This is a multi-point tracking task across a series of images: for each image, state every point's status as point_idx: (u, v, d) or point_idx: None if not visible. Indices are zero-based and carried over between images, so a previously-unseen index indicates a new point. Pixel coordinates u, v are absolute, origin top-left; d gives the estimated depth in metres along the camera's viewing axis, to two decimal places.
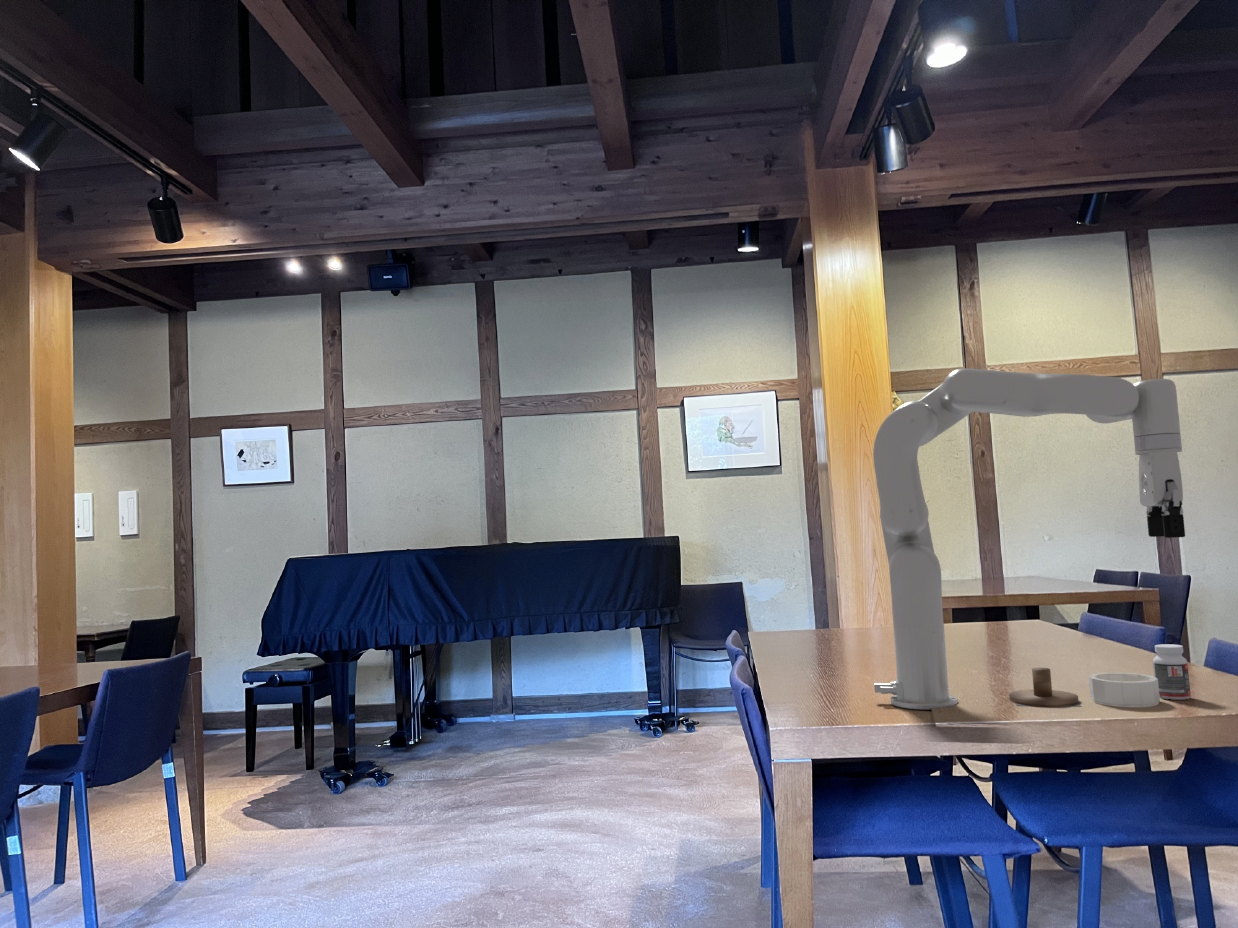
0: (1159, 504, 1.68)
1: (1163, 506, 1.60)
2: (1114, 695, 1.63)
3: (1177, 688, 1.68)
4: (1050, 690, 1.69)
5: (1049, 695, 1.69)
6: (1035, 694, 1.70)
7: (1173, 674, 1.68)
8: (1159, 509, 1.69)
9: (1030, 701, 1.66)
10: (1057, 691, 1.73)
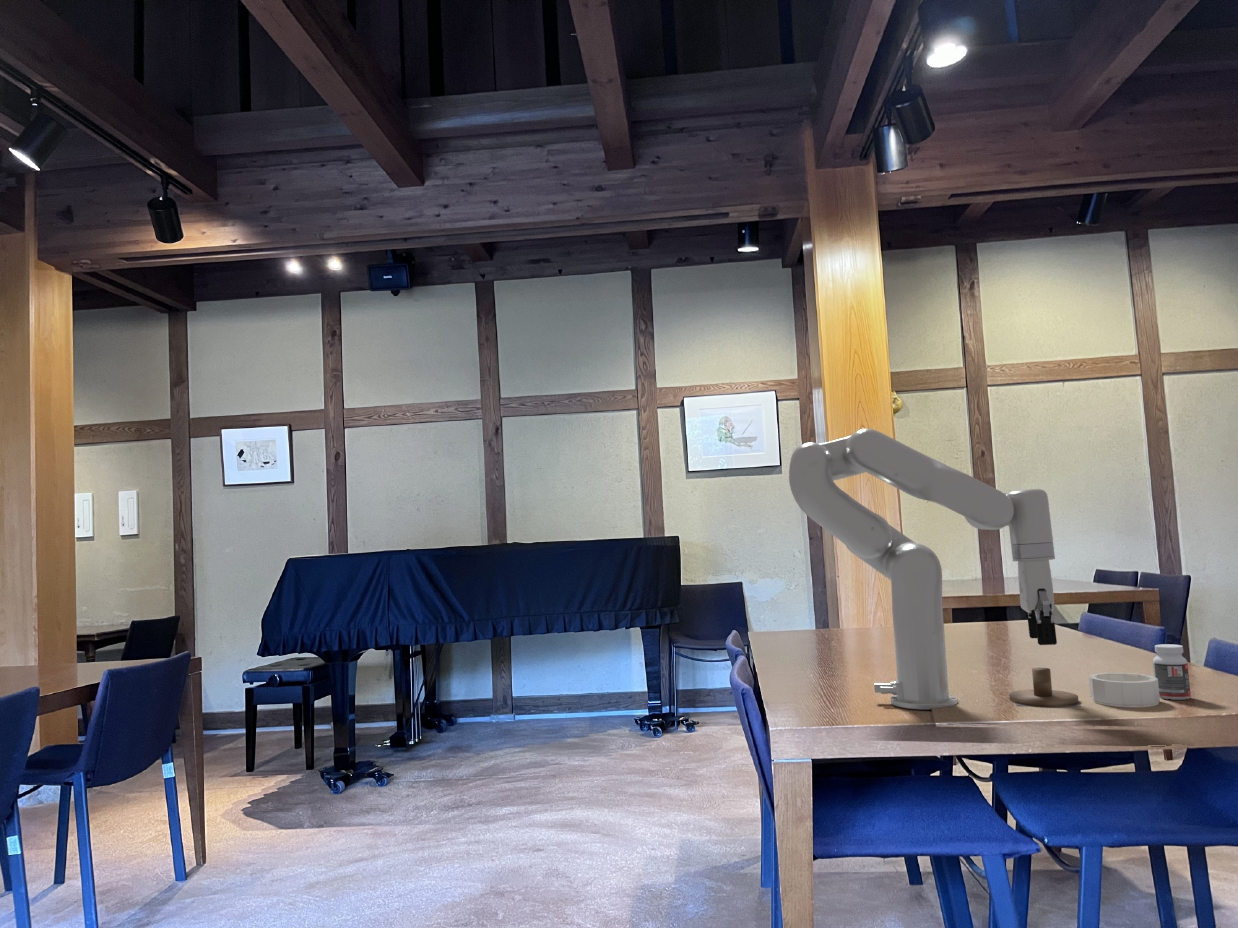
0: None
1: (1036, 614, 1.67)
2: (1114, 695, 1.63)
3: (1177, 688, 1.68)
4: (1050, 690, 1.69)
5: (1049, 695, 1.69)
6: (1035, 694, 1.70)
7: (1173, 674, 1.68)
8: None
9: (1030, 701, 1.66)
10: (1057, 691, 1.73)
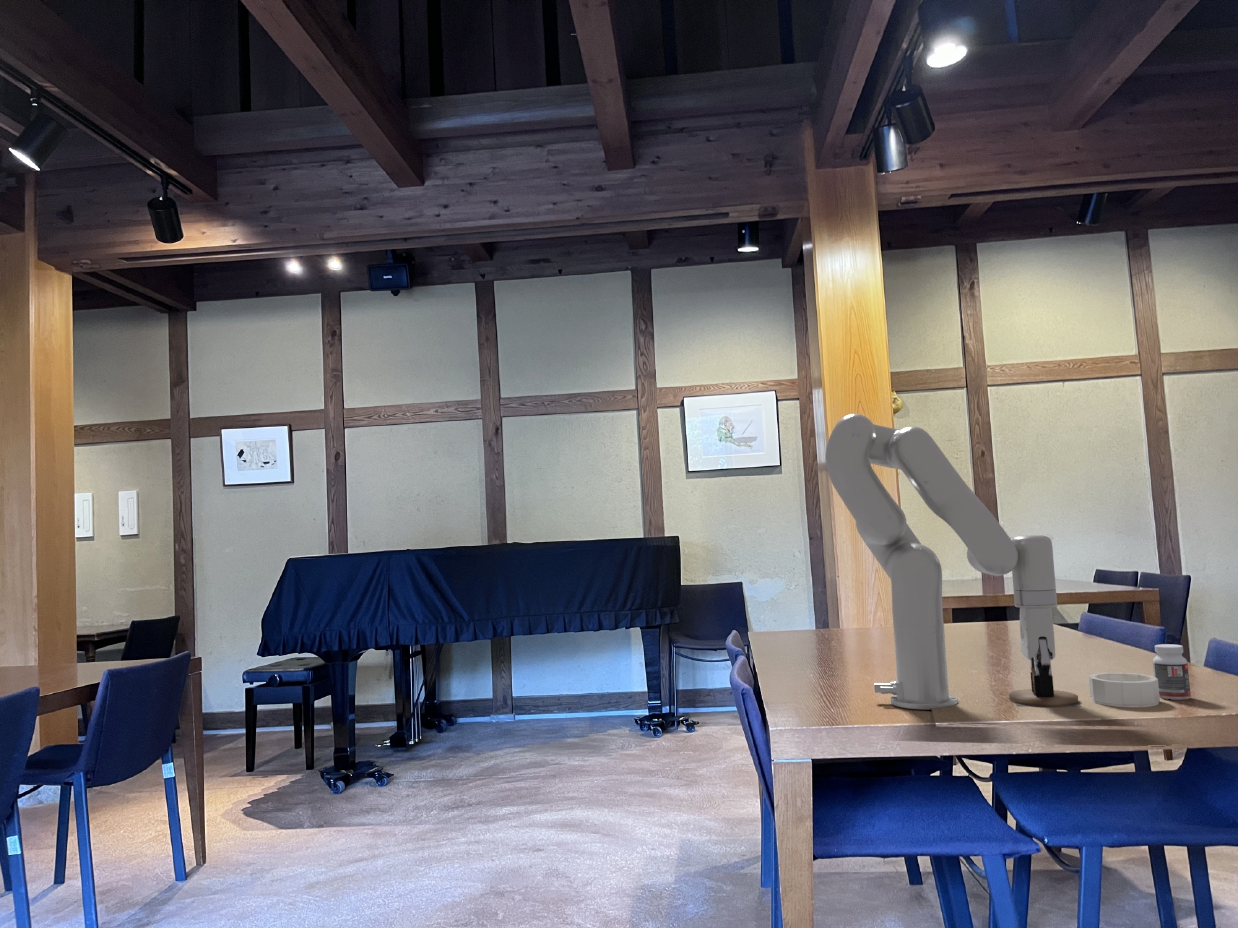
0: (1040, 657, 1.72)
1: (1035, 666, 1.69)
2: (1114, 695, 1.63)
3: (1177, 688, 1.68)
4: None
5: None
6: None
7: (1173, 674, 1.68)
8: None
9: (1030, 701, 1.66)
10: (1057, 691, 1.73)
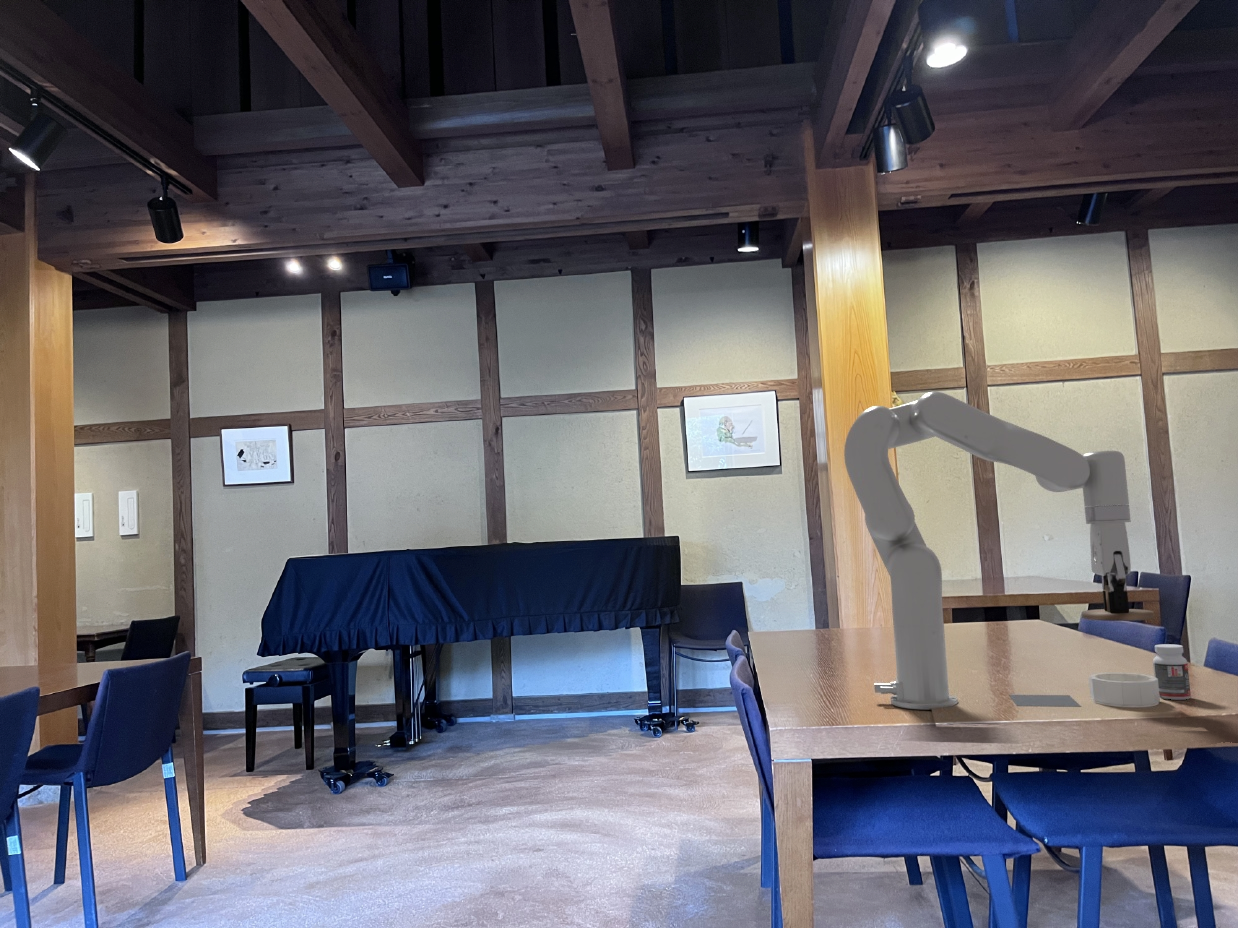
0: (1112, 574, 1.70)
1: (1109, 582, 1.66)
2: (1114, 695, 1.63)
3: (1177, 688, 1.68)
4: None
5: None
6: None
7: (1173, 674, 1.68)
8: None
9: (1105, 617, 1.63)
10: (1130, 609, 1.70)
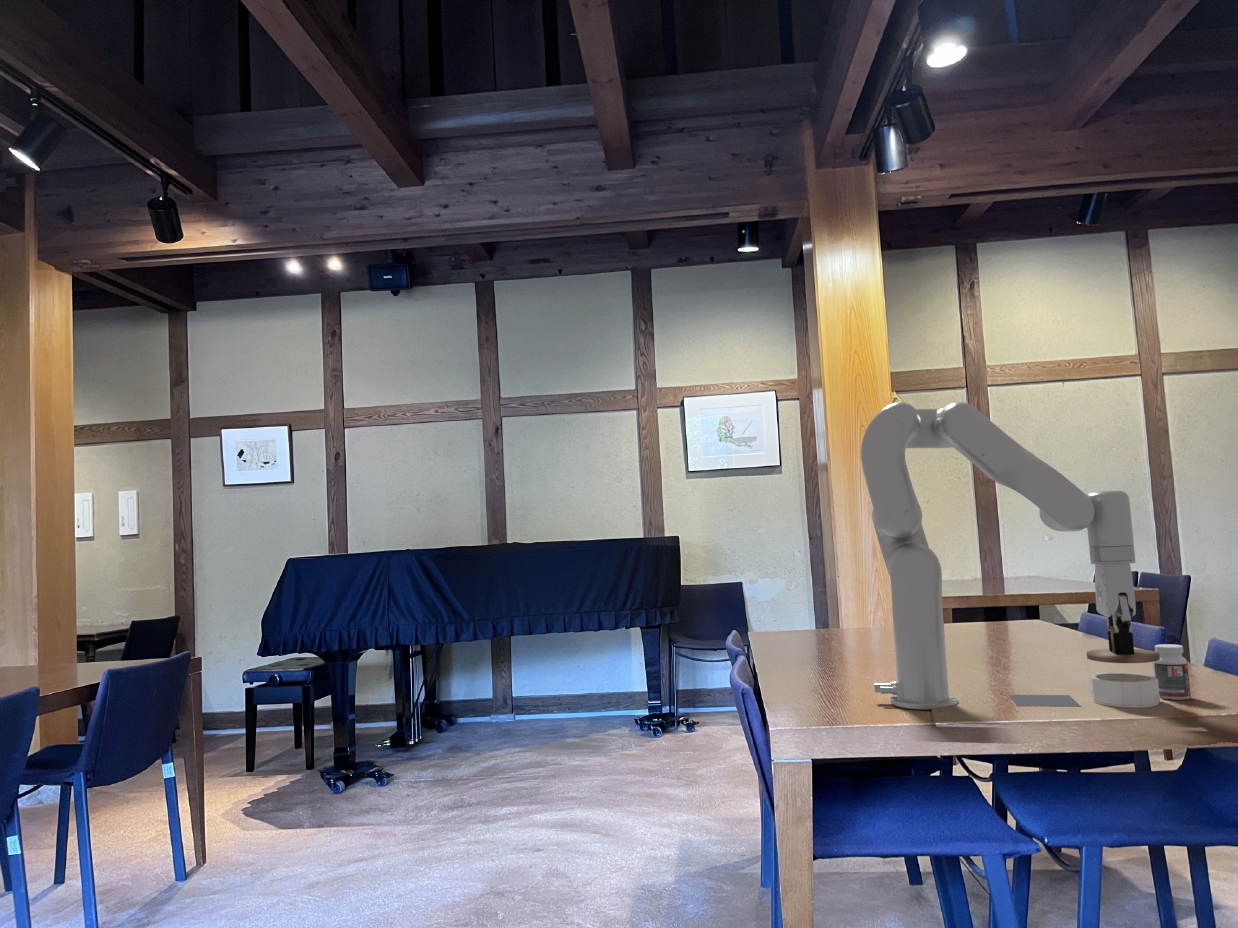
0: (1117, 615, 1.69)
1: (1114, 623, 1.65)
2: (1114, 695, 1.63)
3: (1177, 688, 1.68)
4: None
5: None
6: (1114, 652, 1.67)
7: (1173, 674, 1.68)
8: None
9: (1111, 658, 1.63)
10: (1135, 649, 1.70)
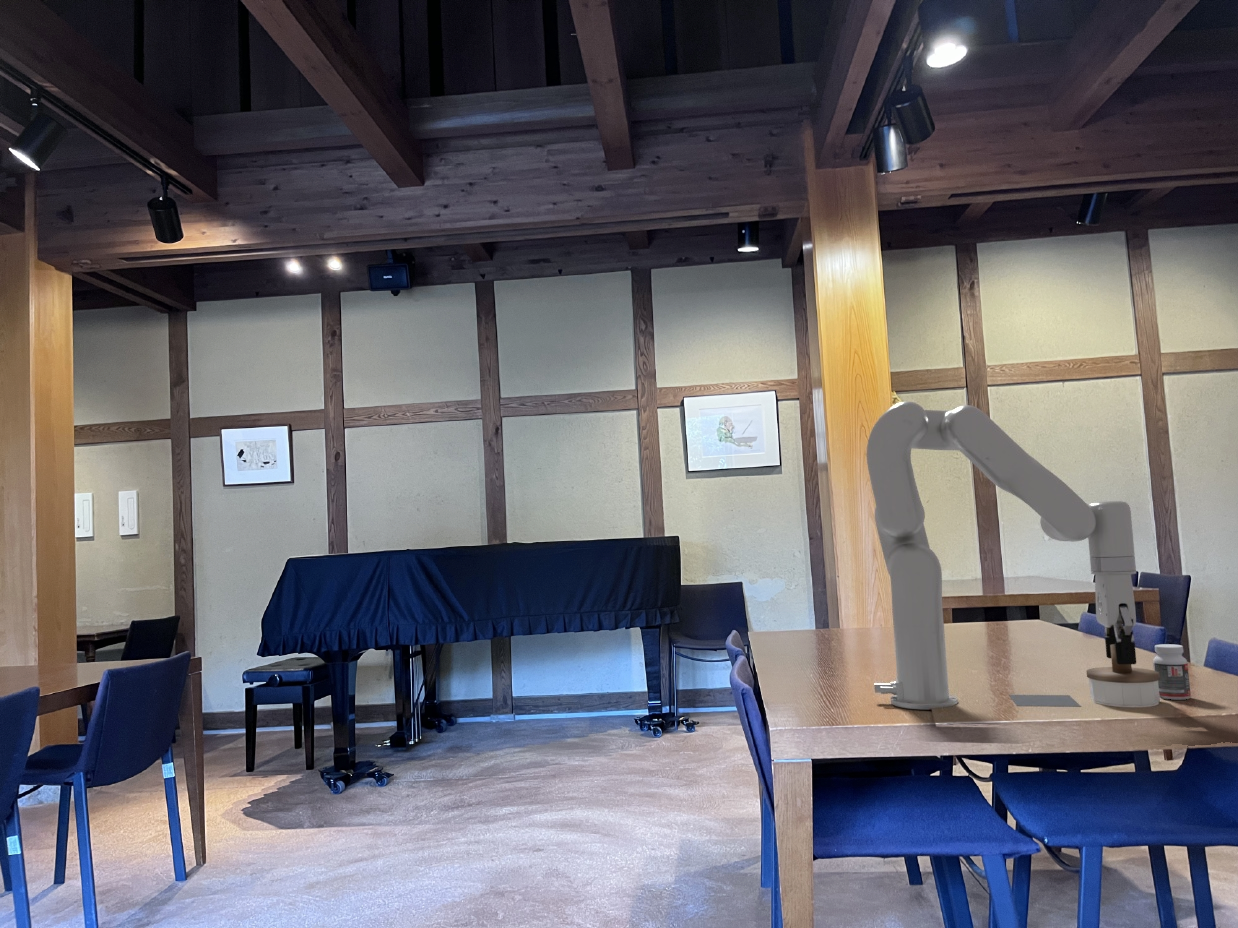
0: (1116, 624, 1.70)
1: (1116, 632, 1.64)
2: (1114, 695, 1.63)
3: (1177, 688, 1.68)
4: (1130, 667, 1.65)
5: (1129, 672, 1.65)
6: (1114, 671, 1.66)
7: (1173, 674, 1.68)
8: None
9: (1111, 678, 1.63)
10: (1135, 668, 1.70)
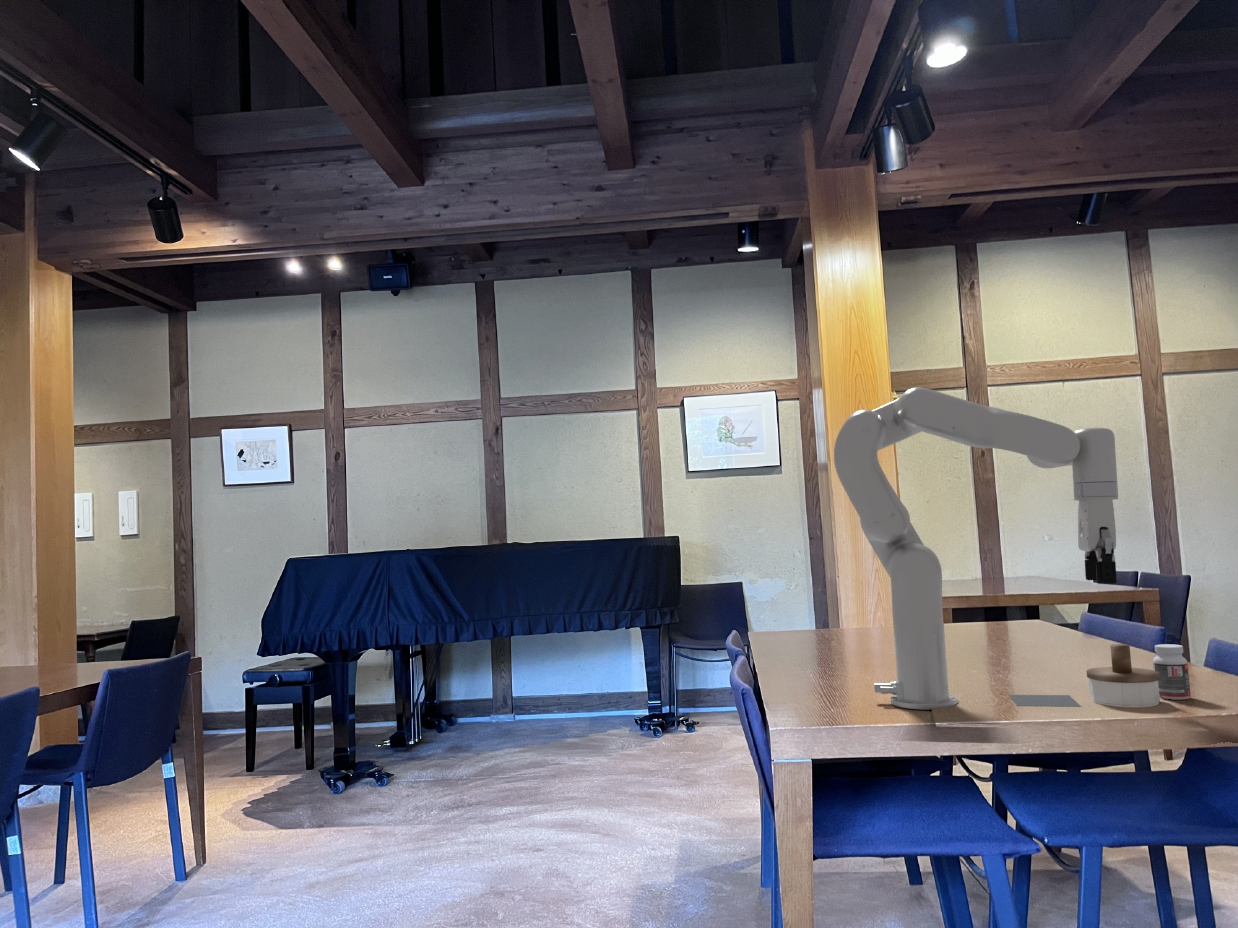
0: None
1: (1097, 552, 1.65)
2: (1114, 695, 1.63)
3: (1177, 688, 1.68)
4: (1130, 667, 1.65)
5: (1129, 672, 1.65)
6: (1114, 671, 1.66)
7: (1173, 674, 1.68)
8: None
9: (1111, 678, 1.63)
10: (1135, 668, 1.70)
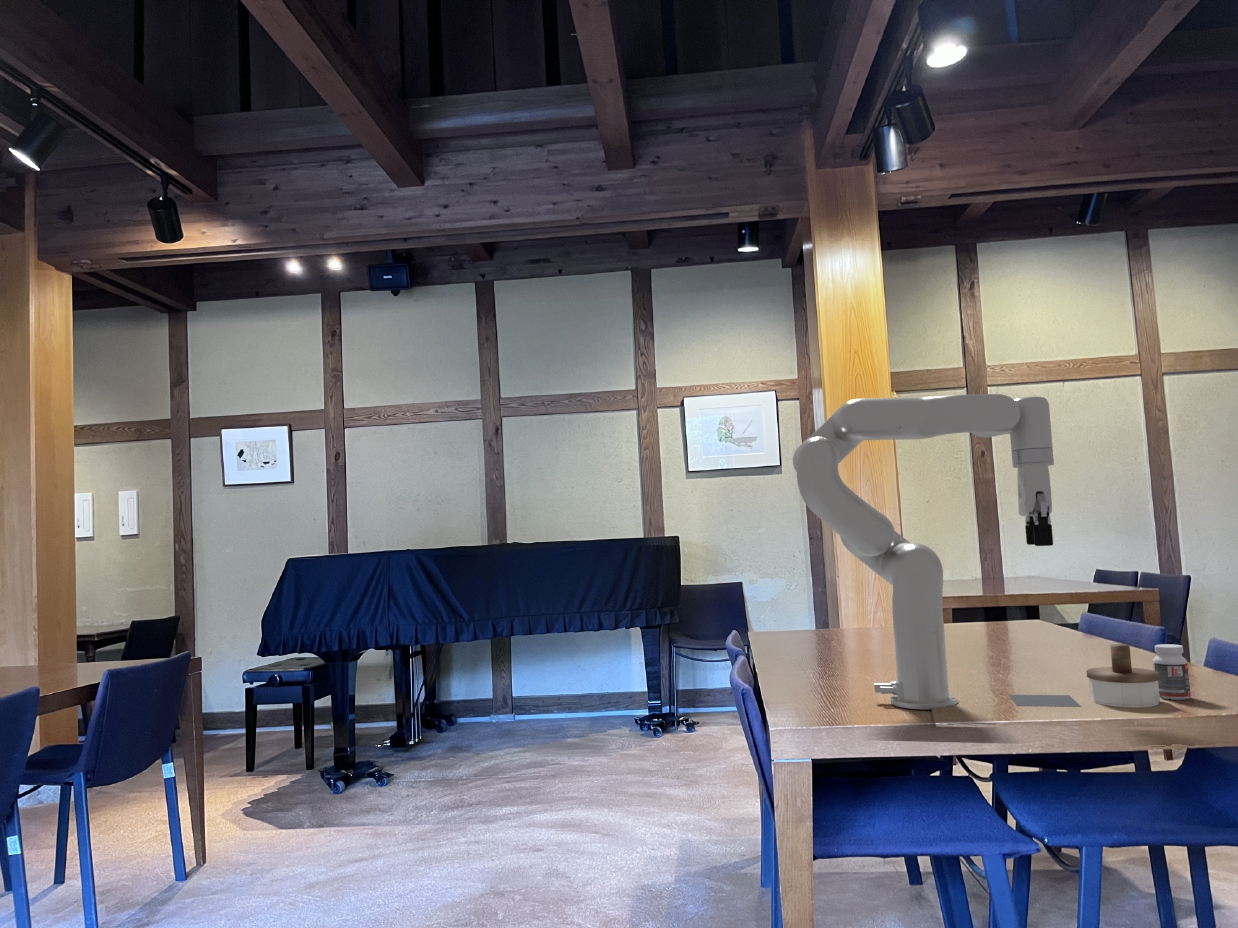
0: None
1: (1034, 516, 1.71)
2: (1114, 695, 1.63)
3: (1177, 688, 1.68)
4: (1130, 667, 1.65)
5: (1129, 672, 1.65)
6: (1114, 671, 1.66)
7: (1173, 674, 1.68)
8: None
9: (1111, 678, 1.63)
10: (1135, 668, 1.70)
